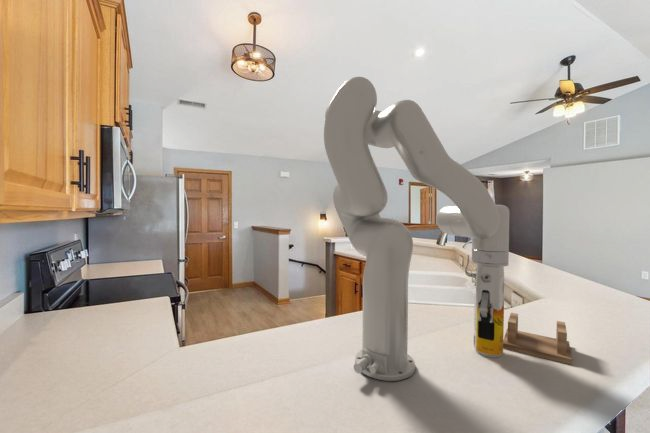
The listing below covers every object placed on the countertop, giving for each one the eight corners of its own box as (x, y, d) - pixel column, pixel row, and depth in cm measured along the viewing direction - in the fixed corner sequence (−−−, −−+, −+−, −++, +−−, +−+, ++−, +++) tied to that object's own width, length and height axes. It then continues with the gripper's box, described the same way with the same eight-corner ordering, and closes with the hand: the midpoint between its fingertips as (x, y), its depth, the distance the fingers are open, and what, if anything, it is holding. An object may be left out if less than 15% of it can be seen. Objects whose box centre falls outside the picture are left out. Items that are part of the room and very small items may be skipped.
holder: (572, 365, 64) (572, 336, 64) (502, 348, 72) (502, 322, 72) (568, 346, 73) (569, 321, 73) (507, 332, 81) (507, 310, 81)
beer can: (507, 360, 66) (508, 293, 66) (477, 357, 67) (479, 291, 67) (497, 347, 72) (498, 286, 72) (470, 345, 73) (471, 285, 73)
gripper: (504, 264, 60) (502, 352, 61) (511, 254, 74) (510, 325, 74) (464, 260, 64) (462, 342, 65) (478, 251, 78) (477, 319, 79)
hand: (488, 332), depth 70 cm, fingers closed on beer can, 6 cm apart
